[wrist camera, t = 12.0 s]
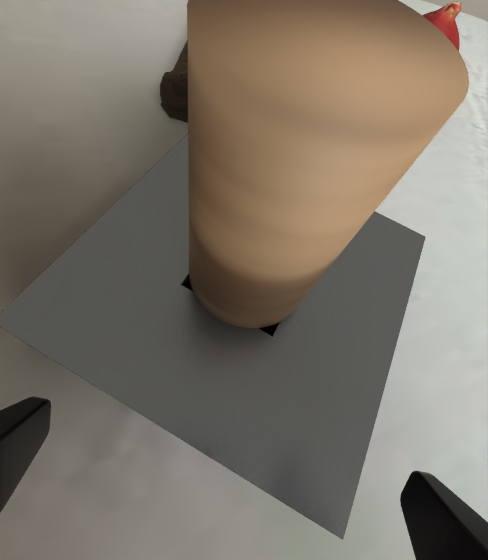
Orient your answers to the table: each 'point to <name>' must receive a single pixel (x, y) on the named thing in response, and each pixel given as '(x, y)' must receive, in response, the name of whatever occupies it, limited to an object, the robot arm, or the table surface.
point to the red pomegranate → (446, 21)
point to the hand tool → (176, 88)
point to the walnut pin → (301, 137)
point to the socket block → (228, 344)
